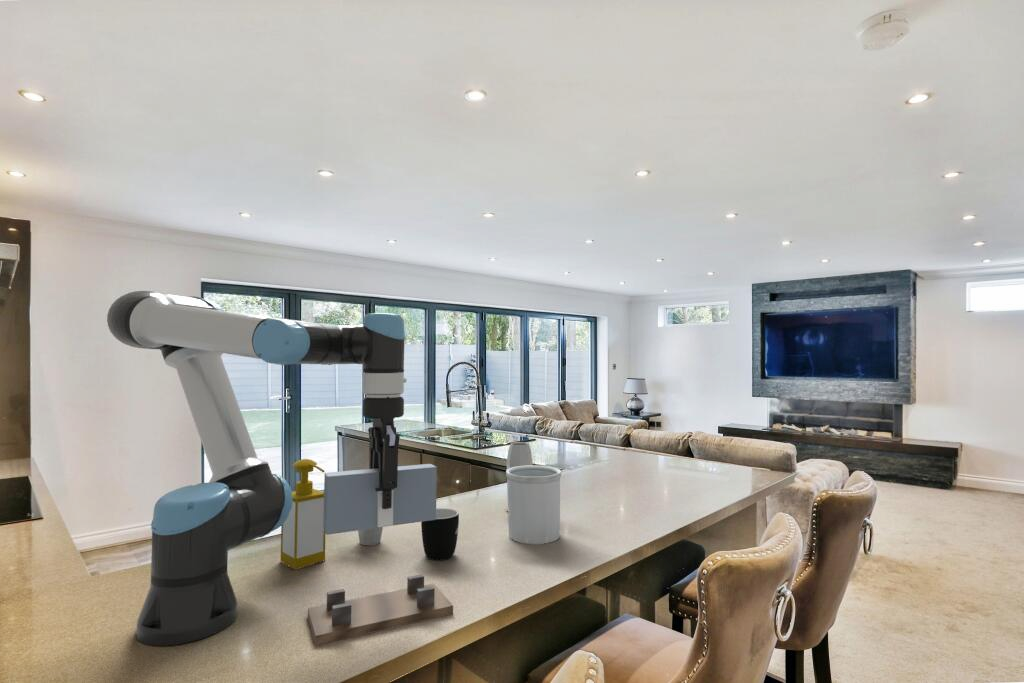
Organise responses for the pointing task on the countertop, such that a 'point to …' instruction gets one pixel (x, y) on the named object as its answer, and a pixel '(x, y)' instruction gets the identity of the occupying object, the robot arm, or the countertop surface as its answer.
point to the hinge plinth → (376, 611)
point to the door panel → (356, 498)
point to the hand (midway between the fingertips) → (382, 522)
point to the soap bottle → (304, 522)
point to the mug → (440, 534)
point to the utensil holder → (533, 503)
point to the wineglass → (519, 455)
